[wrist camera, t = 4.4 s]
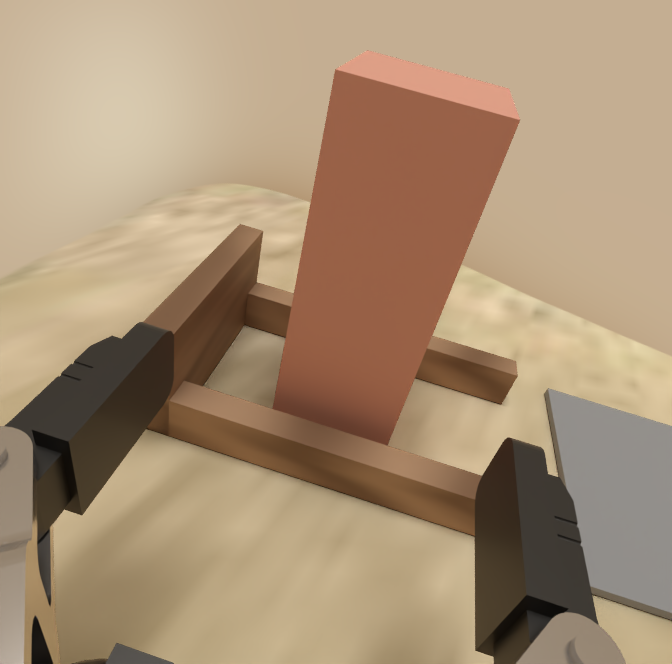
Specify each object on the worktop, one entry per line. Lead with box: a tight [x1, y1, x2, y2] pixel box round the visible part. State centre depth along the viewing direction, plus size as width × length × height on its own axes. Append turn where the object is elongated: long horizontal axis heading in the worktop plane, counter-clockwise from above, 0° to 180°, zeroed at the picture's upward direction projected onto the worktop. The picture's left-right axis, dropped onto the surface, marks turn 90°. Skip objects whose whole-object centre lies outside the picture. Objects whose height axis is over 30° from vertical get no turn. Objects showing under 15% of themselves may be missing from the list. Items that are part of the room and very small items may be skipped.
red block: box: [273, 50, 520, 445], centre depth 19 cm, size 5×5×14 cm
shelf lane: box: [144, 224, 518, 536], centre depth 22 cm, size 16×9×5 cm, turn 76°
